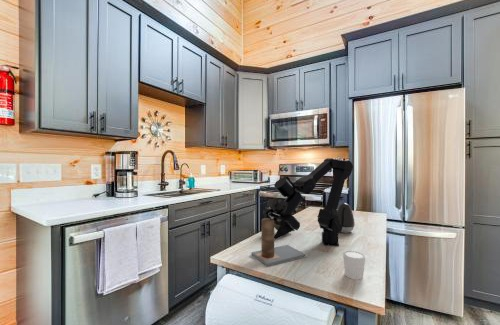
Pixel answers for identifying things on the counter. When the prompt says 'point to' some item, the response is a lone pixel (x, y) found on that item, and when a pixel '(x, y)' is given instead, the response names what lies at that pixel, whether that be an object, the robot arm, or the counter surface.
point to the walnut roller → (267, 238)
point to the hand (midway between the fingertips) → (267, 235)
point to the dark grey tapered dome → (345, 217)
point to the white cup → (354, 264)
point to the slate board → (279, 255)
